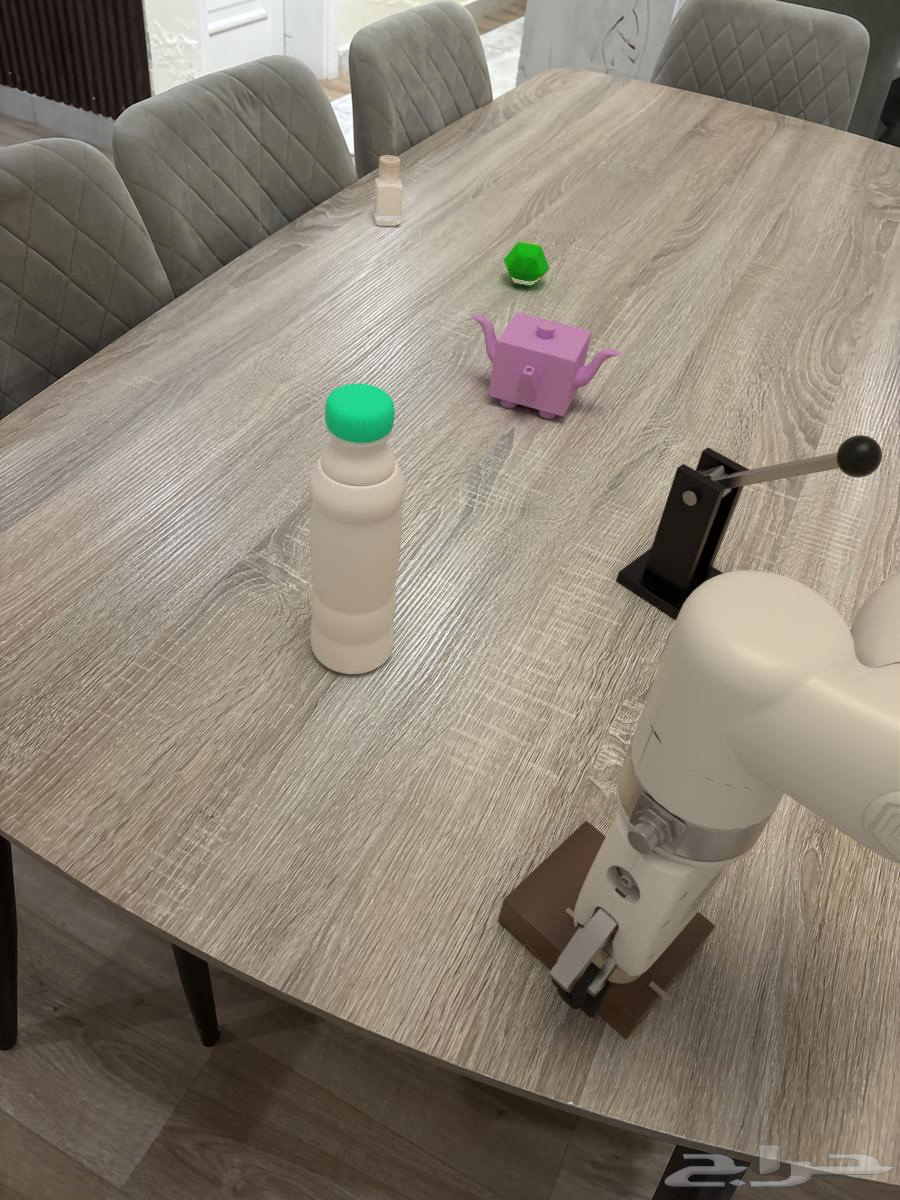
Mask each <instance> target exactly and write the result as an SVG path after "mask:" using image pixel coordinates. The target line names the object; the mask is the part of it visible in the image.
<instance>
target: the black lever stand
mask: <svg viewBox="0 0 900 1200" xmlns="http://www.w3.org/2000/svg"><path fill="white" fill-rule="evenodd" d="M698 459H699V460H698V463H697V466H696V468H695V469H694V468H692V467H690V466H688V465H686V464H685V463H682V464H681V465H679V466H678V467H676V471H675V474H674V477H673V480H672V482H671V486H670V490H669V492H668V496H667V499H666V502H665V505H664V508H663V511H662V514H661V518H660V521H659V524H658V527H657V529H656V533H655V536H654V538H653V541H652V545H651V548H649V549H648V550H646V551H645V552H643V553H642V554H641V555H640V556H638V557H637V558H635V559H634V560H633V561H631V562H630V563H628V564H627V565H625V567H624V568H622V569H620V570H619V571H618V573H617V576H616V579H615V581H616V583H619V584H620V585H621V586H623V587H625V588H626V589H628V590H629V591H631V592H632V593H634V594H635V595H637V596H639V598H641V599H643V600H645V601H646V602H647V603H649V604H651V605H652V606H654V607H655V608H656V609H657V610H660V611H661V612H663V613H664V614H666V615H667V616H669V617H670V618H672V619H673V620H675V621H676V619H677V617H678V615H679V612H680V610H681V608H682V606H683V604H684V602H685V601H686V599H687V598H688V597H689V596H690V594H691V593H692V592H693V591H694V590H695V589H696V588H698V587H699V586H700V585H701V584H703V583H704V582H705V581H707V580H709V579H711V578H713V577H715V576H718V575H720V574H724V573H725V572H722V571H721V570H720V569H718V568H716V567H714V563H715V561H716V558H717V556H718V553H719V551H720V548H721V546H722V544H723V541H724V538H725V535H726V533H727V530H728V527H729V525H730V522H731V520H732V517H733V515H734V512H735V509H736V507H737V505H738V501H739V499H740V496H741V494H742V491H743V489H744V487H745V486H740V487H735V488H731V491H730V492H729V493H728V494H726V495H725V496H724V497H723V494H724V491H725V489H726V488H725V487H724V486H722V485H720V484H719V483H717V482H715V481H713V480H712V479H710V478H708V477H706V476H704V475H703V474H701V473H699V472H697V471H700V470H705V469H709V468H714V467H719V466H723V467H724V470H725V472H726V474H732V473H737V472H742V471H747V470H750V469H749V468H747V467H745V466H744V465H741V464H739V463H738V462H736V461H734V460H732V459H731V458H728V457H727V456H725V455H723V454H721V453H719V452H718V451H716V450H714V449H712V448H710V447H708V446H707V447H705V449H703V450H702V452H701V453H700V457H699V458H698Z"/></svg>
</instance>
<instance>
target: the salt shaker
mask: <svg viewBox="0 0 900 1200" xmlns="http://www.w3.org/2000/svg"><path fill="white" fill-rule="evenodd" d="M401 161H402V160H401V158H400V157H399V156H397V155H391V154H384V155H381V156H380V157H379V158H378V177H375V179H374V192H373V211H374V210H375V214H376V215H378V216H399V215H401V216H402V211H403V210H402V208H403V195H404V194H403V192H404V187H403V182H402V180H401V178H400V174H401V164H402V163H401ZM373 218H374V223H375V225H376V226H378V227H379V226H380V227H400V225H401V223H399V224H400V225H398V224H397V223H395V222H392V221H377V220H376V219H375V216H374V215H373ZM395 224H396V225H398V226H396V225H395Z"/></svg>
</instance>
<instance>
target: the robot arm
mask: <svg viewBox="0 0 900 1200" xmlns="http://www.w3.org/2000/svg"><path fill="white" fill-rule="evenodd" d="M723 573H724V574H720V575H718V576H715V577H713V578H711V579H709V580H707V581H705V582H704V583H703V584H701V585H700V586H699V587H698V588H696V589H695V590H694V591H693V592H692V593H691V594H690V596H689V597H688V598H687V599H686V601H685V602H684V604H683V606H682V608H681V610H680V612H679V615H678V617H677V619H676V620H675V621H674V624H673V627H672V630H671V632H670V634H669V638H668V641H667V644H666V646H665V649H664V652H663V654H662V657H661V659H660V662H659V665H658V667H657V670H656V673H655V676H654V678H653V680H652V681H653V682H652V684H651V687H650V689H649V693H648V695H647V698H646V700H645V703H644V706H643V709H642V711H641V714H640V717H639V720H638V722H637V725H636V727H635V730H634V734H633V736H632V737H631V741H630V744H629V746H628V749H627V751H626V755H625V758H624V760H623V762H622V765H621V767H620V771H619V773H618V775H617V780H616V787H615V793H616V801H617V806H618V809H619V811H618V813H617V815H616V816H615V818H614V821H613V822H612V824H611V826H610V828H609V830H608V832H607V833H605V840H604V842H603V844H602V846H601V848H600V850H599V852H598V854H597V856H596V858H595V860H594V862H593V864H592V866H591V868H590V871H589V873H588V875H587V877H586V879H585V882H584V884H583V886H582V889H581V891H580V894H579V897H578V899H577V902H576V906H575V910H574V924H575V927H576V928H578V927H579V926H580V927H579V928H578V930H577V931H576V933H575V934H574V936H573V937H572V939H571V940H570V941H569V943H568V944H567V946H566V947H565V949H564V950H563V951H562V953H561V955H560V956H559V958H558V959H557V961H556V963H555V964H554V966H553V967H552V969H551V970H549V972H548V976H549V977H550V978H551V982H552V984H553V985H554V986H555V987H556V988H557V990H556V992H557V994H558V997H560V999H561V1000H562V1001H563V1002H564V1003H565V1004H566V1005H567V1006H569V1007H570V1008H571V1009H573V1010H576V1011H578V1010H580V1011H581V1012H583V1014H585V1015H586V1016H587V1017H588V1018H590V1019H593V1018H594V1017H595V1016H596V1015H598V1014H597V1012H598V1011H599V1009H600V1007H601V1005H602V1003H603V1001H604V999H605V997H606V995H607V993H608V991H609V989H610V987H611V984H610V981H609V980H608V979H609V978H610V976H611V975H612V973H613V972H614V970H615V969H616V968H617V966H618V967H619V968H621V969H622V970H623V971H624V972H626V973H627V974H628V975H630V976H637V975H641V974H643V973H644V972H645V971H647V970H648V969H649V968H650V967H651V966H652V964H653V963H654V962H655V961H656V960H657V959H658V958H659V957H660V955H661V954H662V953H663V952H664V951H665V950H666V949H667V947H668V946H669V945H670V944H671V943H672V942H673V940H674V939H675V938H676V937H677V936H678V935H679V933H680V932H681V931H682V930H683V929H684V928H685V926H686V925H687V924H688V923H689V922H690V920H691V919H692V918H693V917H694V916H695V914H696V913H697V912H699V911H700V910H701V909H702V908H703V906H704V905H705V904H706V903H707V901H708V900H709V899H710V898H711V897H712V895H713V894H714V893H715V892H716V890H717V889H718V887H719V886H720V885H721V884H722V882H723V880H724V879H725V877H726V876H727V874H728V872H729V870H730V868H731V866H732V864H734V863H735V862H737V861H739V860H740V859H742V858H743V857H745V856H746V855H747V854H749V852H750V851H752V849H753V848H754V846H755V845H756V843H757V841H758V840H759V838H760V836H761V835H762V833H763V831H764V830H765V828H766V826H767V824H768V823H769V821H770V820H771V818H772V816H773V814H774V813H775V812H776V809H777V807H778V806H779V805H780V802H781V801H782V799H783V798H784V796H785V795H787V796H788V797H790V798H791V799H793V800H794V801H796V803H799V804H800V805H801V806H802V807H805V808H806V809H807V810H809V811H810V812H812V813H813V814H815V815H816V816H818V817H819V818H821V819H822V820H823V821H825V822H826V823H828V824H829V825H831V826H832V827H833V828H835V829H837V830H838V831H839V832H841V833H843V834H844V835H845V836H847V837H849V838H850V839H852V840H853V841H854V842H856V843H858V844H859V845H861V846H863V847H864V848H866V849H868V850H870V851H872V852H873V853H875V854H876V855H878V856H880V857H882V858H884V859H886V860H888V861H890V862H893V863H895V864H897V865H899V866H900V571H899V572H897V573H895V574H894V575H892V577H890V578H889V579H887V580H886V581H885V582H883V584H881V585H880V586H878V588H876V589H875V590H874V591H873V592H872V593H871V594H870V595H869V596H868V598H867V599H866V600H865V601H864V603H863V604H862V606H861V607H859V610H858V611H857V613H856V615H855V617H854V619H853V622H852V624H851V627H849V625H848V623H847V622H846V620H845V618H844V617H843V615H842V614H841V613H840V611H839V610H838V609H837V608H836V607H835V606H834V604H832V602H830V601H829V600H828V599H826V598H825V596H823V595H822V594H820V593H819V592H817V591H816V590H814V589H813V588H812V587H810V586H808V585H806V584H804V583H802V582H800V581H798V580H795V579H794V578H791V577H789V576H785V575H782V574H779V573H774V572H769V571H765V570H753V569H743V570H732V571H727V572H723ZM617 929H618V931H617V933H616V935H615V937H613V936H612V935H613V934H614V933H615V931H616V930H617ZM601 949H603V950H604V951H605V952H606V953H607V954H608V955H609V957H608V959H607V960H606V962H605V963H604V965H603V966H602V967H601V969H600V968H599V967H597V966H596V965H595V964H594V963H593V962H592V961H593V959H594V958H595V957H596V956H597V954H598V953H599V952H600V950H601Z"/></svg>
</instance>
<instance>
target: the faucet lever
mask: <svg viewBox="0 0 900 1200" xmlns="http://www.w3.org/2000/svg"><path fill="white" fill-rule="evenodd" d="M882 460H883V450H882V447H881V446H880V443H878V441H877V440H875V439H874V438H873V437H870V436H868V435H862V434H859V435H858V434H857V435H853V436H851V437H848V438H846V439H845V440H844V441H843V442H842V443H841V444H840V445H839V448H838V449H837V451H836V452H833V453H828V454H823V455H819V456H818V455H817V456H812V457H807V458H802V459H799V460H797V459H796V460H793V461H787V462H783V463H777V464H773V465H766V466H763V467H757V468H752V469H749V470H747V471H742V472H737V473H732V474H726V472H725V470H724V467H723V466H719V467H714V468H709V469H705V470H700V471H697V472H699V473H701V474H703V475H704V476H706V477H708V478H710V479H712V480H713V481H715V482H717V483H719V484H720V485H722V486H724V487H725V488H726V489H725V491H724V494H723V497H724V496H725V495H726V494H728V493H729V492H730V491H731V488H735V487H740V486H744V487H745V486H751V485H756V484H761V483H767V482H773V481H778V480H783V479H789V478H793V477H794V478H795V477H800V476H805V475H810V474H811V475H812V474H817V473H821V472H827V471H832V470H838V469H840V471H841V472H842V473H843V474H845V475H847V476H849V477H851V478H864V477H865V478H866V477H869V476H870V475H872V474H873V473H875V472H876V470H878V468H879V467H880V465H881V462H882Z"/></svg>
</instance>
